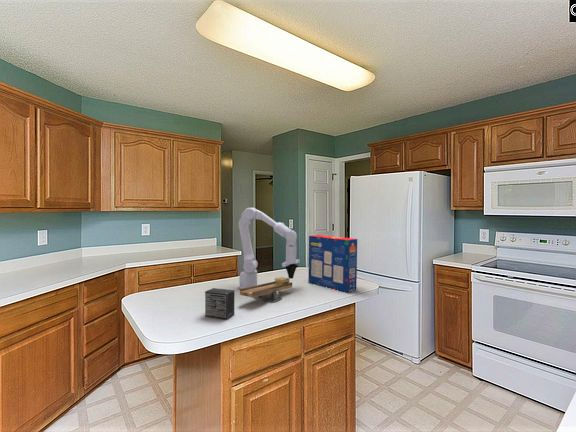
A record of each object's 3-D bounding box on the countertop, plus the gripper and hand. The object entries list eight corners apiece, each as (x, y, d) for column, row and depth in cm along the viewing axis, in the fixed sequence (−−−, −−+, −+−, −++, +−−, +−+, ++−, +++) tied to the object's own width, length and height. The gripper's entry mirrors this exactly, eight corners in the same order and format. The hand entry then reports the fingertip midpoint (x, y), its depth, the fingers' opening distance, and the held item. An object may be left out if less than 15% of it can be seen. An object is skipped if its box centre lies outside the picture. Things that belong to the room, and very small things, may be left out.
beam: (239, 294, 136) (239, 289, 136) (279, 284, 162) (279, 280, 162) (253, 297, 132) (253, 292, 132) (292, 287, 157) (292, 282, 157)
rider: (274, 284, 155) (274, 278, 156) (281, 282, 160) (281, 277, 160) (282, 285, 153) (282, 279, 153) (289, 284, 158) (289, 278, 158)
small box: (235, 314, 125) (235, 289, 125) (227, 320, 119) (227, 293, 119) (213, 311, 129) (213, 287, 128) (204, 316, 123) (204, 291, 122)
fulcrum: (253, 298, 147) (253, 288, 147) (262, 294, 153) (262, 285, 153) (273, 303, 141) (273, 292, 140) (282, 299, 146) (282, 289, 146)
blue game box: (356, 290, 163) (357, 239, 162) (347, 293, 158) (348, 240, 157) (317, 280, 184) (318, 234, 183) (308, 282, 178) (309, 235, 177)
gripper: (289, 255, 155) (289, 281, 155) (304, 252, 167) (304, 276, 167) (278, 254, 159) (278, 279, 159) (293, 251, 171) (293, 274, 171)
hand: (290, 278), depth 163 cm, fingers closed
